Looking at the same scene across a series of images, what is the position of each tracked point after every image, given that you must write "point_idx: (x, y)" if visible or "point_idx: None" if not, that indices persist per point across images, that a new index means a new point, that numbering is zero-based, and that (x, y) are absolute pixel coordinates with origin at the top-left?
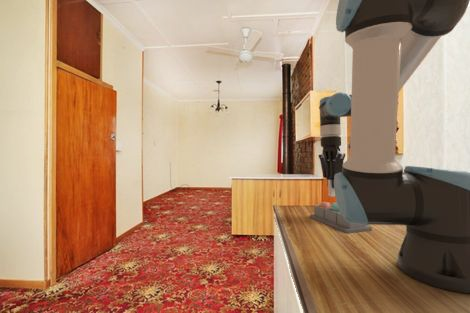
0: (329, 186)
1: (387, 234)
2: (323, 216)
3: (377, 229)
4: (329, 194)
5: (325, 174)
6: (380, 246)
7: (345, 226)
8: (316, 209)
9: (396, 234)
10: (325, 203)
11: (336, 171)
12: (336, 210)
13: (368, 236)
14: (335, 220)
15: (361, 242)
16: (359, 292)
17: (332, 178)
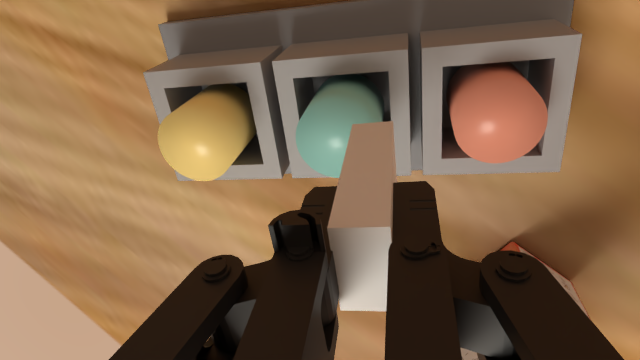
0: (362, 175)
1: (152, 184)
2: (425, 33)
3: (216, 198)
4: (371, 130)
5: (492, 306)
6: (13, 52)
7: (212, 53)
8: (532, 31)
9: (152, 213)
10: (473, 108)
11: (122, 349)
12: (314, 97)
13: (126, 93)
14: (291, 47)
15: (47, 3)
16: None
17: (276, 250)
